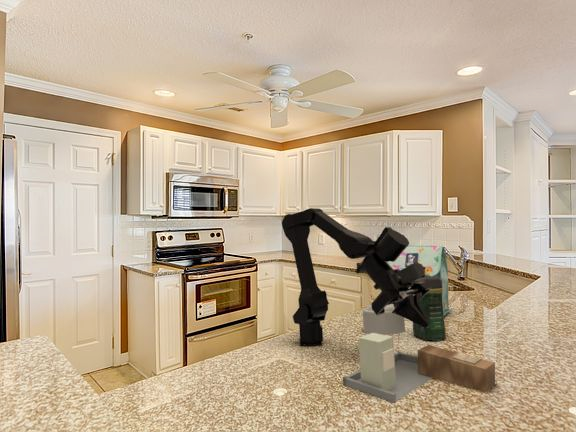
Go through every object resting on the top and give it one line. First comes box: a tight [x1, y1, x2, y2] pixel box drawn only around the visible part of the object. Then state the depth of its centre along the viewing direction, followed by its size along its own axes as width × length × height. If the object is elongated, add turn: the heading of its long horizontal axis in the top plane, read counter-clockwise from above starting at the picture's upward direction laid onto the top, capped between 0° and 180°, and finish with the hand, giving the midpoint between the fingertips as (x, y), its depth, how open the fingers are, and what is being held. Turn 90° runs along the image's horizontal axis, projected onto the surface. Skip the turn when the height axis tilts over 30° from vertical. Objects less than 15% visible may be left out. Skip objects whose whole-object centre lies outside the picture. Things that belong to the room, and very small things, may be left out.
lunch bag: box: [387, 244, 451, 317], centre depth 141 cm, size 23×16×27 cm
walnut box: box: [417, 344, 496, 393], centre depth 76 cm, size 5×5×14 cm
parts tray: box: [342, 351, 433, 404], centre depth 78 cm, size 12×22×2 cm, turn 132°
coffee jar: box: [410, 275, 447, 342], centre depth 109 cm, size 10×8×19 cm
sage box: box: [358, 333, 396, 391], centre depth 74 cm, size 5×5×10 cm
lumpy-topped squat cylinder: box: [362, 303, 406, 336], centre depth 118 cm, size 10×13×9 cm
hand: (428, 326), depth 81 cm, fingers closed
